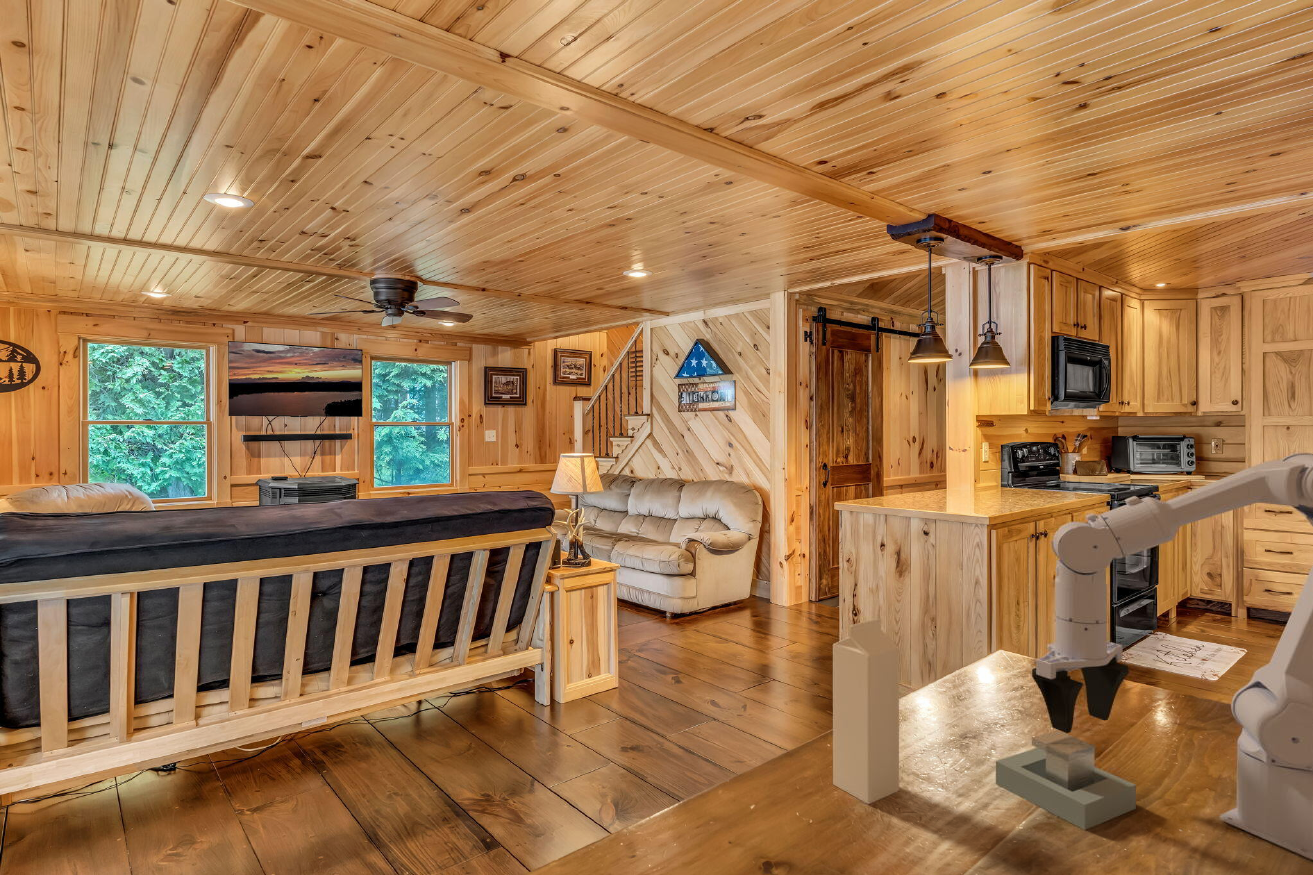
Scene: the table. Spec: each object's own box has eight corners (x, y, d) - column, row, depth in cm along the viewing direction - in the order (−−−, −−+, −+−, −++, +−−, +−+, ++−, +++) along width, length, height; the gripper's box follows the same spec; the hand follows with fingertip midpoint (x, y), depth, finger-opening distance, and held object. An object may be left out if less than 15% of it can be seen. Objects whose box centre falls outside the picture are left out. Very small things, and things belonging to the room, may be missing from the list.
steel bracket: (1094, 800, 90) (1094, 745, 90) (1067, 809, 88) (1068, 753, 88) (1057, 781, 95) (1057, 730, 95) (1031, 790, 93) (1031, 737, 92)
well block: (1135, 808, 88) (1135, 784, 88) (1084, 829, 84) (1084, 804, 84) (1045, 766, 99) (1045, 744, 99) (995, 783, 94) (995, 761, 94)
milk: (899, 791, 93) (901, 623, 92) (867, 805, 90) (869, 631, 89) (862, 772, 98) (863, 612, 97) (831, 784, 95) (832, 619, 94)
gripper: (1085, 603, 97) (1084, 701, 98) (1014, 617, 91) (1014, 723, 91) (1139, 615, 91) (1139, 720, 92) (1067, 632, 85) (1067, 745, 85)
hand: (1080, 723), depth 91 cm, fingers open, 7 cm apart
